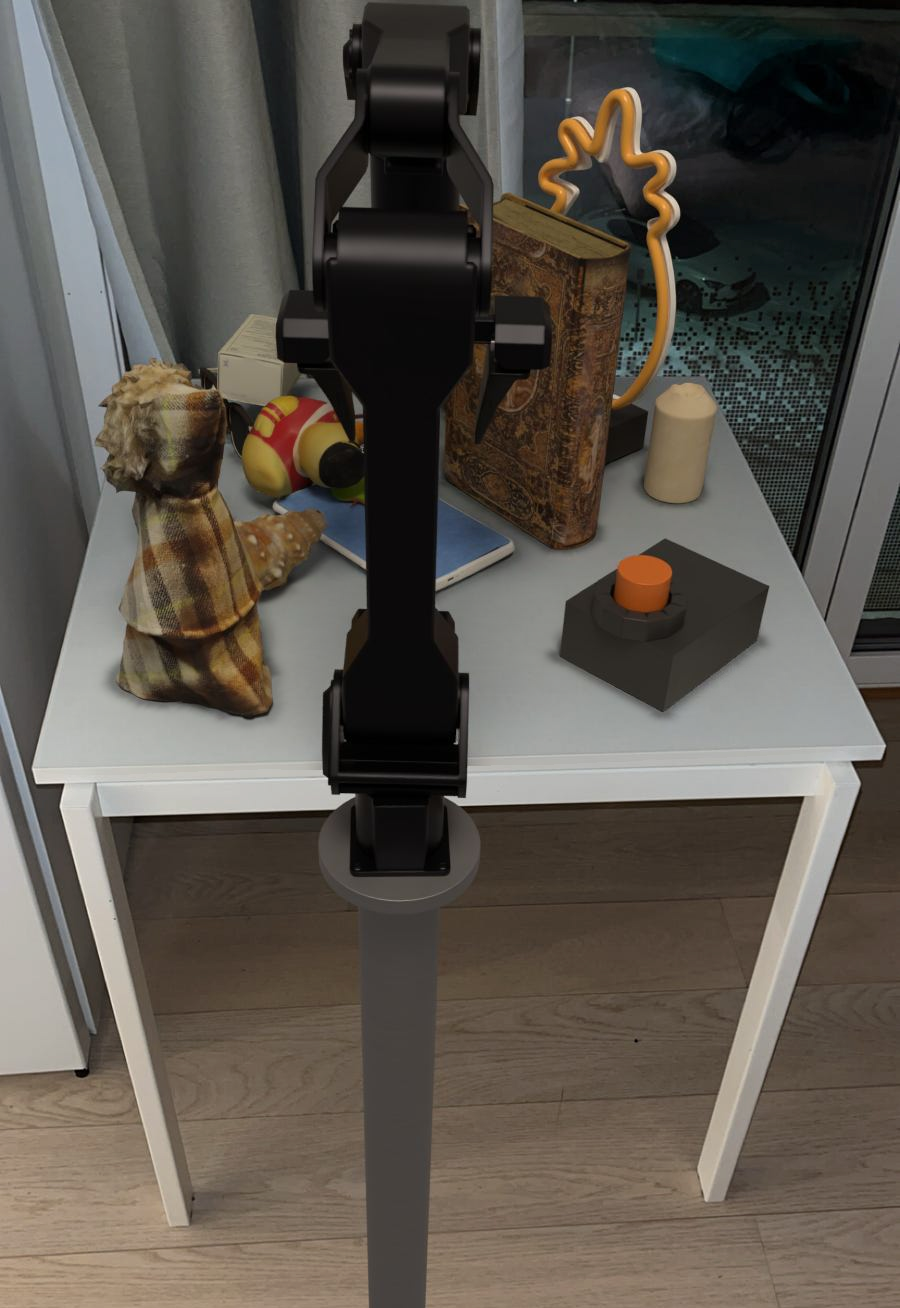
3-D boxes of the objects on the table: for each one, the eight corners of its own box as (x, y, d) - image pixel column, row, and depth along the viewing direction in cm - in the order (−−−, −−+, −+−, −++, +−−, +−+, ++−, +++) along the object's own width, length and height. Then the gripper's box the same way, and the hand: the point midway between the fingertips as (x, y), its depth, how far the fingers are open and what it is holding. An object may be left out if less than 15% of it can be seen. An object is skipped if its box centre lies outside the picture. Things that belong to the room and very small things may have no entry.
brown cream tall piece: (84, 737, 91) (112, 397, 76) (66, 633, 100) (88, 314, 86) (278, 738, 96) (339, 421, 81) (243, 640, 106) (292, 340, 91)
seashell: (252, 575, 114) (299, 479, 109) (297, 633, 110) (348, 536, 105) (163, 567, 107) (209, 464, 102) (208, 628, 103) (258, 525, 98)
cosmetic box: (248, 355, 129) (214, 398, 120) (250, 310, 126) (215, 351, 117) (310, 366, 129) (280, 411, 119) (313, 322, 126) (283, 364, 117)
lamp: (490, 426, 130) (509, 74, 108) (551, 401, 134) (582, 59, 113) (612, 490, 121) (660, 121, 99) (674, 462, 125) (732, 103, 104)
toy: (337, 443, 122) (405, 478, 116) (254, 513, 119) (320, 552, 113) (302, 362, 115) (373, 395, 109) (213, 434, 112) (281, 472, 106)
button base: (655, 717, 96) (669, 641, 91) (551, 661, 101) (559, 585, 96) (757, 640, 104) (774, 566, 99) (656, 591, 108) (668, 518, 104)
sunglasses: (199, 412, 130) (197, 363, 127) (344, 392, 136) (346, 346, 133) (250, 472, 121) (249, 422, 118) (402, 448, 128) (406, 400, 124)
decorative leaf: (423, 495, 115) (423, 504, 116) (396, 444, 121) (396, 453, 121) (339, 508, 113) (340, 517, 114) (316, 455, 119) (316, 464, 120)
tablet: (518, 553, 112) (520, 540, 111) (411, 606, 105) (411, 592, 104) (374, 470, 122) (374, 457, 121) (268, 513, 116) (267, 500, 115)
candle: (683, 510, 119) (700, 408, 112) (632, 491, 121) (646, 390, 114) (711, 487, 122) (730, 387, 115) (661, 469, 124) (677, 369, 118)
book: (605, 535, 115) (642, 248, 98) (560, 554, 112) (590, 263, 95) (488, 462, 124) (503, 189, 107) (443, 479, 122) (451, 201, 105)
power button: (646, 620, 94) (651, 590, 92) (602, 598, 96) (606, 569, 94) (677, 598, 96) (683, 569, 94) (634, 577, 98) (639, 548, 96)
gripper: (553, 182, 89) (537, 390, 101) (285, 174, 89) (299, 383, 100) (560, 248, 82) (542, 465, 93) (266, 240, 82) (284, 458, 93)
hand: (414, 440), depth 95 cm, fingers open, 9 cm apart
